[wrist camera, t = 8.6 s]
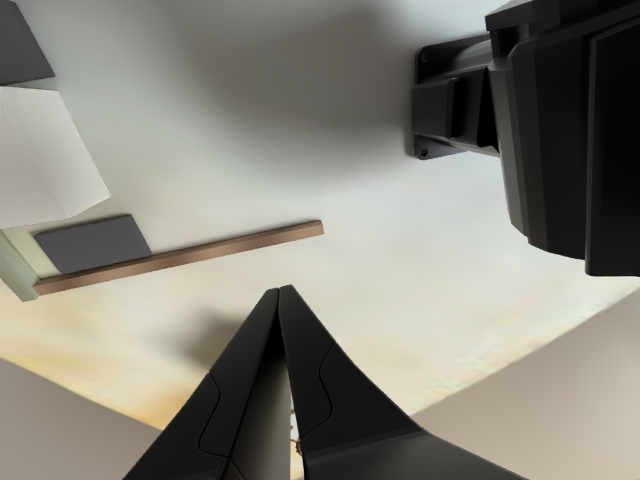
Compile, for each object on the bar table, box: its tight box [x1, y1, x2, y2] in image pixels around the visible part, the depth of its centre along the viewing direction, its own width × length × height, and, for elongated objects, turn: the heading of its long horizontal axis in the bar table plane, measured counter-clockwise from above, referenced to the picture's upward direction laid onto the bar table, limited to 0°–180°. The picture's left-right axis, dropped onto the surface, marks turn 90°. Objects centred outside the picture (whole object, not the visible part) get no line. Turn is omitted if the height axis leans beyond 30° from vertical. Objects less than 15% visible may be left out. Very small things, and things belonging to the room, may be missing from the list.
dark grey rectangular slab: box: [0, 0, 152, 274], centre depth 15 cm, size 6×14×1 cm, turn 10°
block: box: [0, 86, 111, 229], centre depth 14 cm, size 6×6×4 cm
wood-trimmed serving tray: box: [0, 220, 324, 302], centre depth 15 cm, size 21×16×1 cm
